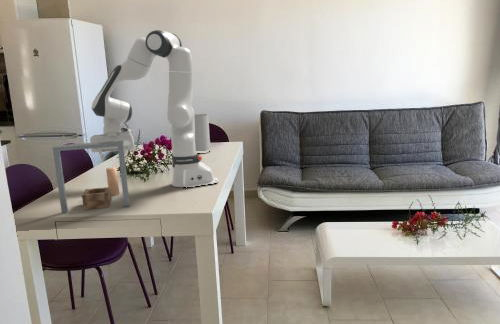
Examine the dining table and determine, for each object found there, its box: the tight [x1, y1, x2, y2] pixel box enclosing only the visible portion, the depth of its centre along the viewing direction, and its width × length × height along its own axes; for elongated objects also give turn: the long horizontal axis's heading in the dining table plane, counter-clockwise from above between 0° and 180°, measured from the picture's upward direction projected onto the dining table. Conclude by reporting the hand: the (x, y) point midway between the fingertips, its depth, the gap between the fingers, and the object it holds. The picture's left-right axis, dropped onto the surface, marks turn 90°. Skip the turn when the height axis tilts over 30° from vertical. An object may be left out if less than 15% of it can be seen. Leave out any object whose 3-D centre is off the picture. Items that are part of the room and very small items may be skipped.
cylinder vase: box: [194, 113, 211, 151], centre depth 288 cm, size 12×12×25 cm
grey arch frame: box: [52, 140, 131, 214], centre depth 174 cm, size 26×6×26 cm, turn 102°
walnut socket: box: [81, 186, 113, 211], centre depth 180 cm, size 10×10×6 cm
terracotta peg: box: [105, 166, 120, 196], centre depth 195 cm, size 4×4×12 cm
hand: (112, 157), depth 203 cm, fingers open, 8 cm apart
